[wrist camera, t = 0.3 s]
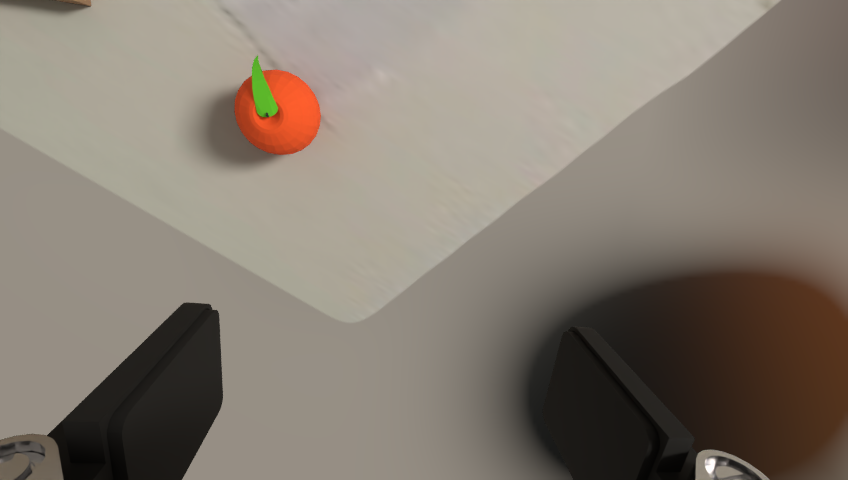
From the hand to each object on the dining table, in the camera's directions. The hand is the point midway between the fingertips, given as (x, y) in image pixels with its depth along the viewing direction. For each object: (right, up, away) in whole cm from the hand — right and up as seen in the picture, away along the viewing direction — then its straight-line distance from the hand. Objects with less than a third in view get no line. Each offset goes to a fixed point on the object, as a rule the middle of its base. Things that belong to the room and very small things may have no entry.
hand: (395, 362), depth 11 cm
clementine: (-12, +16, +26) cm, 33 cm away
